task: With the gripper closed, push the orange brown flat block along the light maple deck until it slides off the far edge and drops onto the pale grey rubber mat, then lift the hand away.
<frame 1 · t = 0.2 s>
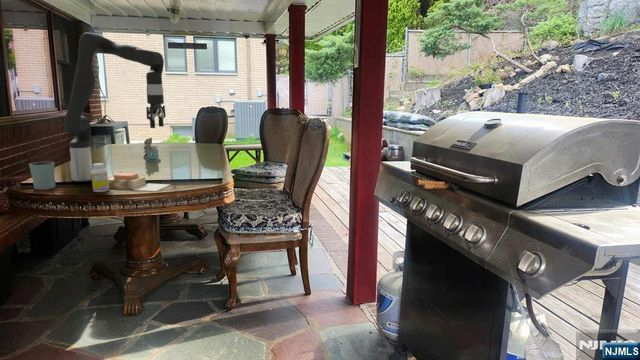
hand: (157, 127, 208), 29 cm above the table, tool pointing down, fingers open, 8 cm apart
deck: (121, 185, 208), on the table
mat: (152, 187, 206), on the table
pale teal cup: (44, 188, 203), on the table
supplement bottle: (101, 191, 198), on the table
orange brown flat block: (126, 178, 207), point 4 cm above the table, touching deck
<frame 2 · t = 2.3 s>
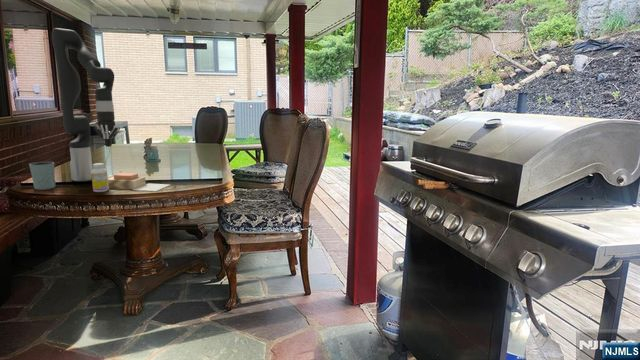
hand: (108, 146, 205), 20 cm above the table, tool pointing down, fingers closed
nothing on the table moved.
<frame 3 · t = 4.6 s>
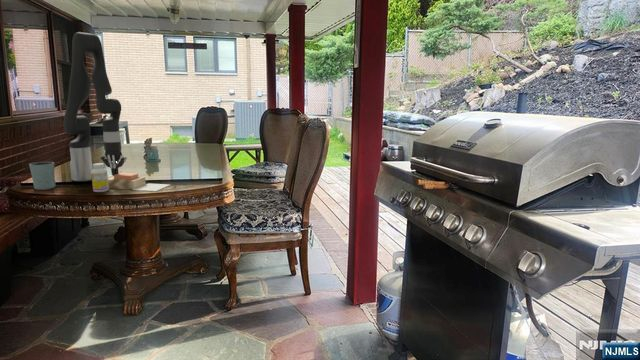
hand: (115, 175, 207), 5 cm above the table, tool pointing down, fingers closed
orange brown flat block: (126, 178, 207), point 4 cm above the table, touching deck, gripper
everything else where it was.
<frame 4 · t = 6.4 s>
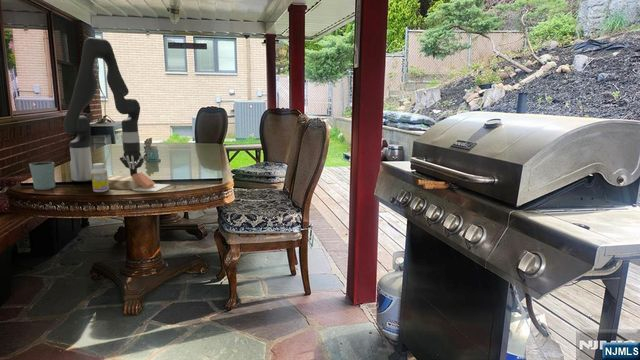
hand: (134, 176, 206), 5 cm above the table, tool pointing down, fingers closed
orange brown flat block: (142, 181, 205), point 3 cm above the table, tilted 33°, touching deck, gripper, mat
everything else where it was.
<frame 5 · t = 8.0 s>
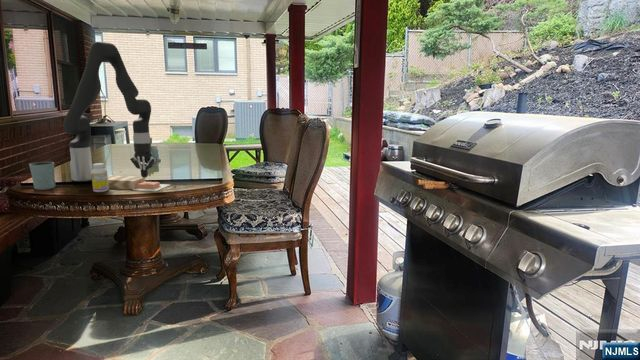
hand: (144, 177, 205), 5 cm above the table, tool pointing down, fingers closed
orange brown flat block: (148, 187, 205), resting on mat
everything else where it was.
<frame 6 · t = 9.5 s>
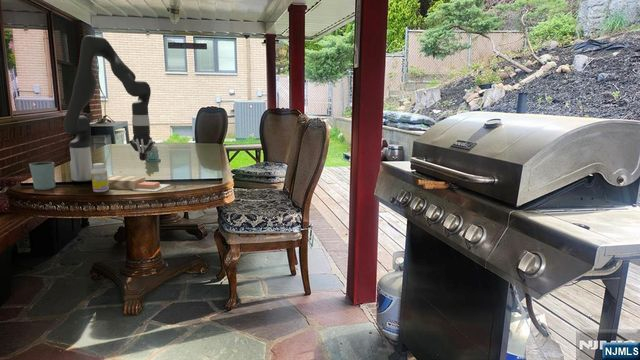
hand: (143, 160, 203), 13 cm above the table, tool pointing down, fingers closed
nothing on the table moved.
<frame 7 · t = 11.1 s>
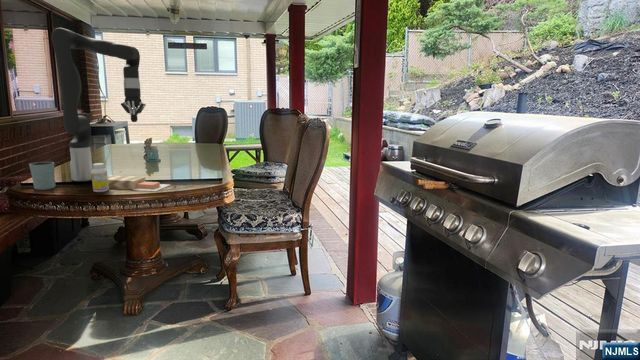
hand: (134, 121, 216), 31 cm above the table, tool pointing down, fingers closed
nothing on the table moved.
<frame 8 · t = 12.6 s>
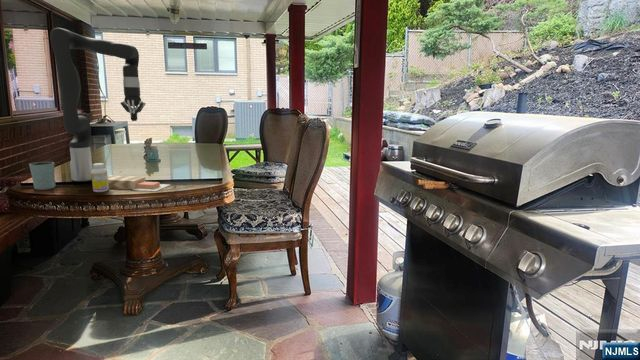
hand: (134, 120, 216), 31 cm above the table, tool pointing down, fingers closed
nothing on the table moved.
at the end: orange brown flat block resting on mat; orange brown flat block inside the target area on the mat (1.8 cm from its centre), point 0.3 cm above the mat's base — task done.
